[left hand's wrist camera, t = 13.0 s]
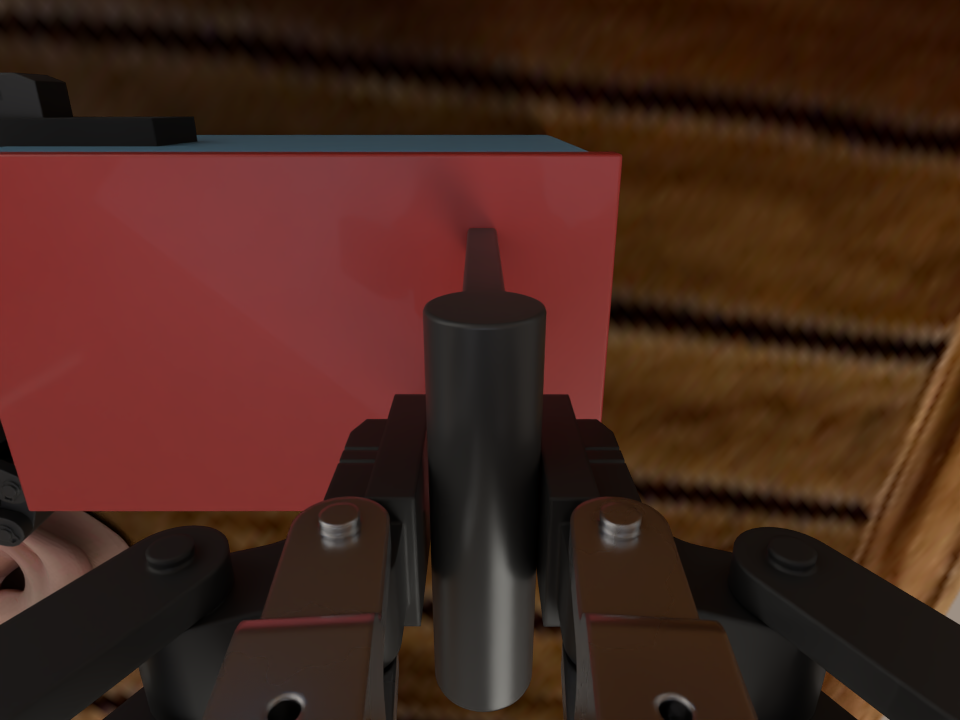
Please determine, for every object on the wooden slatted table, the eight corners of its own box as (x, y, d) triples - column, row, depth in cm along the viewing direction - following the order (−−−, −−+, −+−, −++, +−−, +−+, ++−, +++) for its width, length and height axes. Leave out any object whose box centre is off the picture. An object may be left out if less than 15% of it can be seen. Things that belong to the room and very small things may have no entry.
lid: (615, 151, 16) (765, 198, 7) (590, 495, 19) (671, 777, 11) (-58, 151, 15) (-640, 199, 7) (46, 495, 19) (-270, 778, 11)
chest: (548, 135, 25) (590, 151, 16) (540, 369, 28) (569, 494, 19) (142, 135, 25) (-56, 151, 16) (186, 369, 28) (47, 495, 19)
